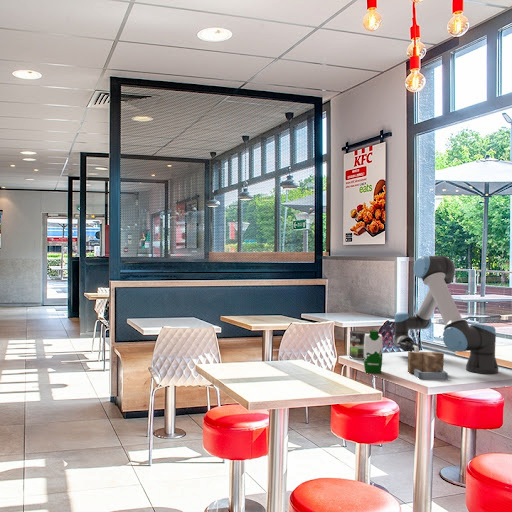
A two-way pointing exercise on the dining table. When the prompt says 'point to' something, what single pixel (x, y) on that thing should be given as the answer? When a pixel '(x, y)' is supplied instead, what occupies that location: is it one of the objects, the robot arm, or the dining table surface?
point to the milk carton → (373, 352)
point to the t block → (425, 361)
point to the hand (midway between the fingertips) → (417, 349)
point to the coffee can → (357, 344)
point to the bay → (431, 374)
